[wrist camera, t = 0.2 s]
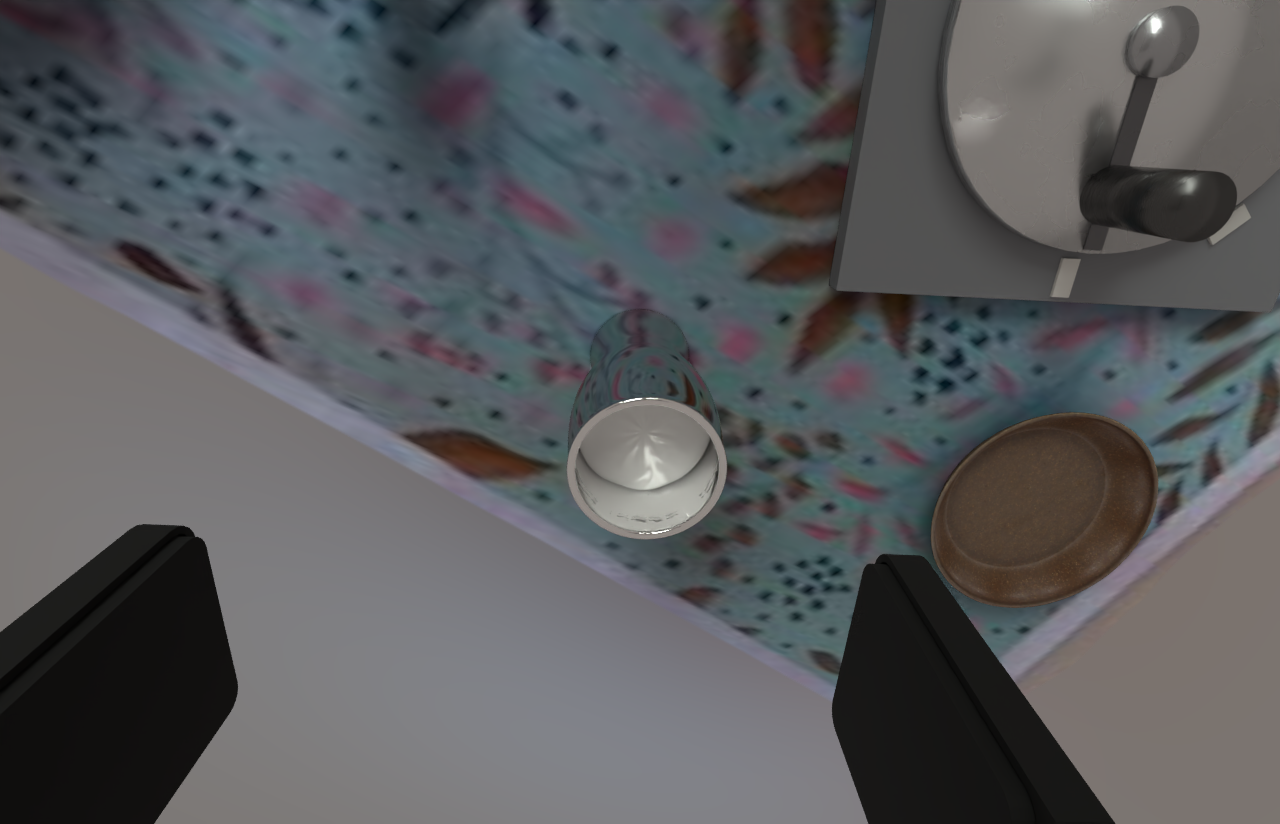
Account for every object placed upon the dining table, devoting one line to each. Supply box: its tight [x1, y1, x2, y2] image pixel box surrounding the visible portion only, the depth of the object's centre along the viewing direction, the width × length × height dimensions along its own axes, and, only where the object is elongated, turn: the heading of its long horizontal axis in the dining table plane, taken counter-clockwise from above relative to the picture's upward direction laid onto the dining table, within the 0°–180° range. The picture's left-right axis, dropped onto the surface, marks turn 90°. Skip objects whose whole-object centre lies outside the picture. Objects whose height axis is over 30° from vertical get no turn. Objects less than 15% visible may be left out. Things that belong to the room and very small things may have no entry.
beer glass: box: [567, 309, 727, 539], centre depth 33 cm, size 7×7×15 cm
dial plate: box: [829, 0, 1280, 312], centre depth 34 cm, size 26×26×2 cm
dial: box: [938, 0, 1280, 254], centre depth 29 cm, size 20×20×7 cm
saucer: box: [931, 412, 1158, 608], centre depth 44 cm, size 15×15×3 cm
